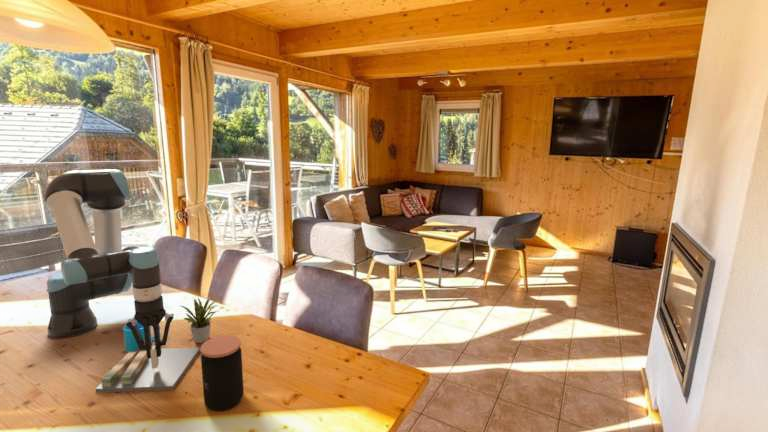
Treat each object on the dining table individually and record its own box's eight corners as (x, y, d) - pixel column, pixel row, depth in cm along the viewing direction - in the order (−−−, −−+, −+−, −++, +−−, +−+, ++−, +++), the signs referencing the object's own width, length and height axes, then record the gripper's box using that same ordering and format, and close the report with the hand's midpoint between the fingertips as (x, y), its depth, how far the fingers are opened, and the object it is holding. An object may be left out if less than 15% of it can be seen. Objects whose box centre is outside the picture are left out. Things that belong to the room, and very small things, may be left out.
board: (135, 352, 136) (135, 349, 136) (200, 350, 138) (199, 347, 138) (96, 392, 115) (95, 388, 114) (173, 389, 117) (172, 386, 116)
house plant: (233, 335, 149) (230, 296, 146) (203, 352, 137) (200, 310, 134) (206, 327, 155) (204, 289, 152) (176, 343, 143) (172, 302, 139)
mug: (132, 354, 135) (130, 333, 133) (121, 347, 139) (118, 326, 137) (166, 340, 145) (164, 320, 143) (155, 334, 149) (153, 314, 147)
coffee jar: (212, 389, 117) (208, 335, 114) (247, 388, 118) (245, 334, 115) (198, 414, 107) (193, 355, 103) (237, 412, 108) (234, 354, 104)
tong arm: (140, 357, 130) (139, 351, 130) (148, 356, 131) (147, 350, 131) (121, 384, 116) (121, 377, 116) (131, 383, 117) (130, 376, 116)
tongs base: (137, 350, 135) (136, 338, 134) (152, 350, 136) (151, 338, 135) (102, 386, 115) (100, 373, 115) (119, 386, 116) (117, 372, 115)
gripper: (120, 305, 113) (129, 376, 118) (170, 299, 118) (177, 368, 123) (126, 295, 120) (134, 363, 124) (173, 290, 125) (179, 355, 129)
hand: (155, 365), depth 124 cm, fingers closed
